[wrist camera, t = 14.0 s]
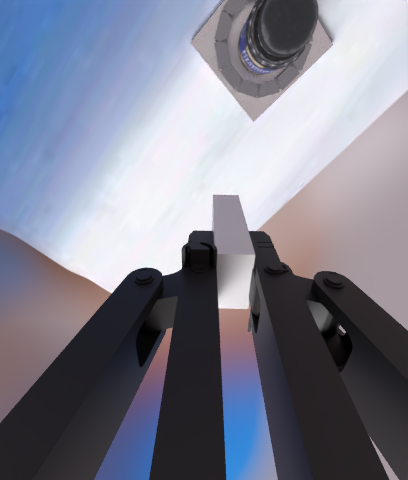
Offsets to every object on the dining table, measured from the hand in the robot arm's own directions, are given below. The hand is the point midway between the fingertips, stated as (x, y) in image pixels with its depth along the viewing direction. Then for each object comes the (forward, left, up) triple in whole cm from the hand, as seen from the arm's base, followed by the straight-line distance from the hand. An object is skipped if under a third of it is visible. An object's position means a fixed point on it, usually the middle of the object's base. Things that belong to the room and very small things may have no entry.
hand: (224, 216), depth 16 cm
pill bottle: (-5, +12, -24) cm, 27 cm away
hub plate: (-5, +12, -24) cm, 28 cm away
